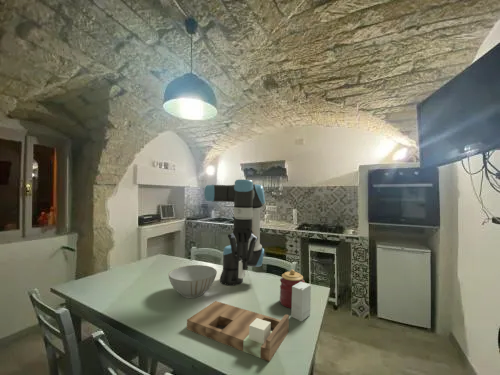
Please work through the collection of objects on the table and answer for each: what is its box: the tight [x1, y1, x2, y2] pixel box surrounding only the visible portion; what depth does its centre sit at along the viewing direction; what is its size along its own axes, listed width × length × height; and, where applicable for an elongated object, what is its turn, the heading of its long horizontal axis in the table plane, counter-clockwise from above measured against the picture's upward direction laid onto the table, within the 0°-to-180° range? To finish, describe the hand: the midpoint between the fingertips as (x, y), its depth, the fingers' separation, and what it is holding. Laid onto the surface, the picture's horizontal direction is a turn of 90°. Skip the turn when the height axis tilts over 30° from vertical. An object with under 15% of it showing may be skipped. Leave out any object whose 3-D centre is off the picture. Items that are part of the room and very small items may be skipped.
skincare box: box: [290, 282, 312, 322], centre depth 111 cm, size 8×6×15 cm
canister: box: [279, 269, 306, 309], centre depth 125 cm, size 13×13×18 cm
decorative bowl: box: [168, 264, 217, 299], centre depth 134 cm, size 27×27×12 cm
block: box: [249, 318, 271, 344], centre depth 88 cm, size 6×6×5 cm
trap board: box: [186, 300, 290, 362], centre depth 99 cm, size 38×20×7 cm, turn 62°
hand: (241, 277), depth 93 cm, fingers closed
